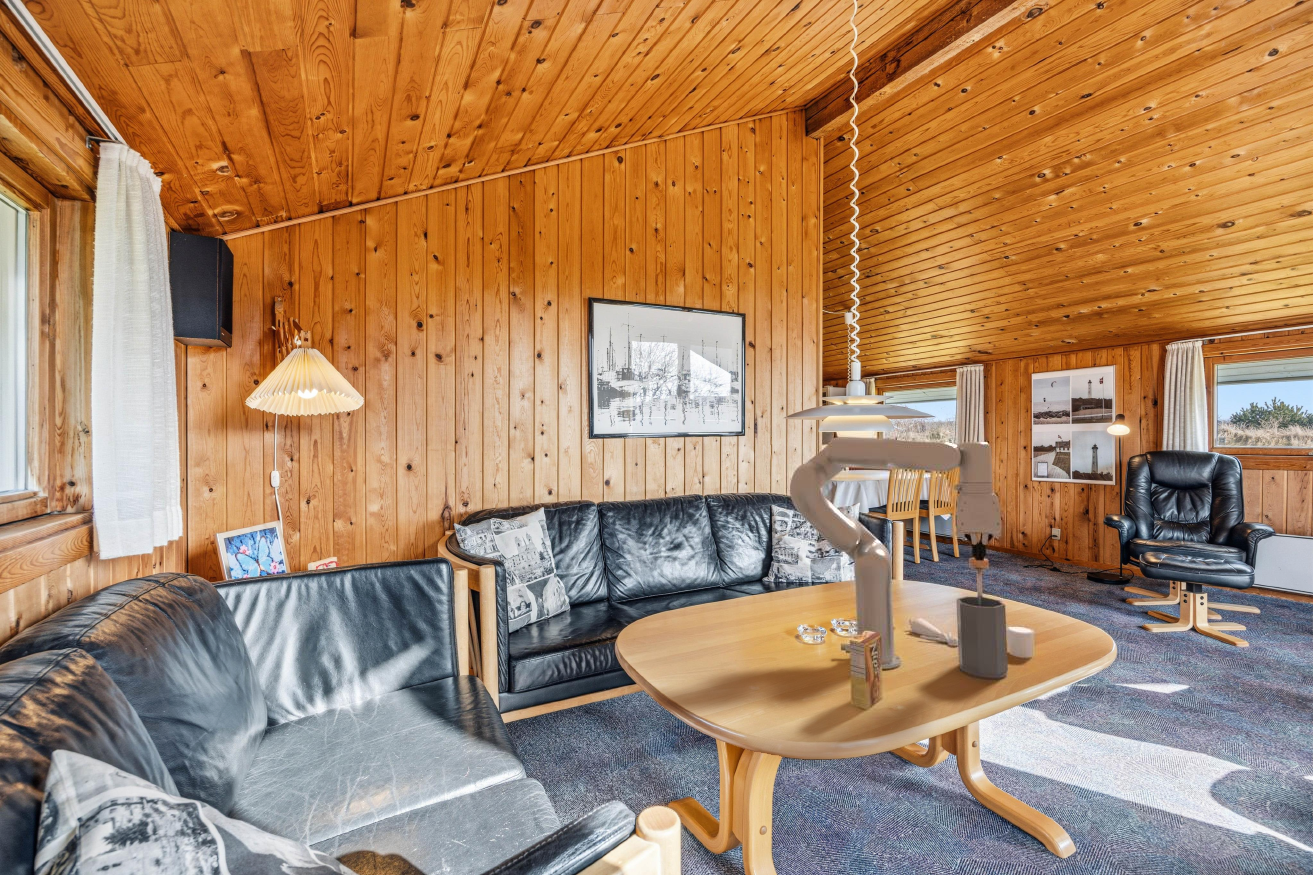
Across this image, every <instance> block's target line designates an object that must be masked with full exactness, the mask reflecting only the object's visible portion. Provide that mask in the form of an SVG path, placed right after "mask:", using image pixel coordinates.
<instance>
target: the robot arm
mask: <svg viewBox="0 0 1313 875" xmlns="http://www.w3.org/2000/svg"><path fill="white" fill-rule="evenodd" d="M992 465H993V464H992V448H991V445H990V444H989V443H988V442H986V441H968V442H967V441H966V442H962V443H957V442H956V443H955V442H945V441H940V442H938V441H936V442H935V441H913V440H910V441H909V440H901V439H895V438H886V437H885V438H883V437H880V438H879V437H877V438H876V437H854V436H853V437H852V436H851V437H849V436H840V437H839V436H838V437H834V438H832V439H831V440H830V441H829V442H828V443H827V445H826V446H825V447H824V448H823V449H822V450H820V451H819V452H818V453H816V454H815V455H814V456H813V457H812V458H810V459H809V460H808V461H807V462H805V463H804V464H801V465H799V466H798V467H797V468H796V469H795V470H794V472H793V474H792V477H791V480H790V485H789V494H790V495H789V496H790V499H791V502H792V504H793V506H794V507H795V509H796V511H797V512H798V513H799V514H800V515H801V516H802V517H803V519H804V520H806V522H808V523H809V524H810V526H811V527H812V528H813V529H815V531H816V532H818V533H819V534H820V536H821V537H822V538H823V539H825V541H826V542H827V543H828V544H829V545H830V546H831V547H832V548H833V549H834V550H836V551H838V552H843V553H845V555H847V557H849V558H850V559H851V560H853V562H854V564H853V566H854V567H853V571H854V574H853V575H854V585H855V588H854V589H855V605H856V606H855V608H856V609H855V610H856V636H857V635H859V634H861V633H862V632H864V631H871V632H876V633H880V634H881V647H882V670H888V669H894V668H897V667H899V666H900V665H901V664H902V659H901V657H900V655H898V654H896V653H895V638H894V637H895V636H894V635H895V634H894V630H895V629H894V611H893V610H894V607H893V606H894V605H893V568H892V566H893V564H892V559H891V553H890V552H889V549H888V548H887V547H886V546H885V545H884V544H883V543H882V542H881V540H879V539H878V538H877V537H876V536H875V535H874V534H873V533H872V532H871V531H870V530H868V528H866V526H864V525H863V524H862V523H861V522H860V521H859V520H857V518H855V517H853V516H851V515H849V514H848V515H847V514H843V513H842V511H840V510H839V509H838V508H837V507H836V506H835V505H834V504H833V503H832V502H831V501H830V500H829V499H828V498H826V497H825V495H824V494H823V493H822V490H821V488H823V487H824V486H825V485H826V484H827V483H829V482H830V481H831V480H832V479H834V478H835V477H836V476H837V475H839V474H840V473H841V472H842V471H843V470H845V469H846V468H854V469H855V468H858V469H875V470H889V471H891V470H892V471H894V470H895V471H896V470H906V471H907V470H908V471H927V472H928V471H929V472H949V471H952V470H955V469H958V470H959V471H958V472H959V474H958V475H959V476H958V477H959V482H958V483H957V484H954V485H953V489H954V491H958V492H959V493H958V494H957V496H956V502H955V513H954V514H955V520H954V521H955V524H954V525H955V532H954V535H955V536H956V537H960V538H964V539H966V540H967V541H968V542H969V543H971V556H972V557H973V558H975V559H976V560H984V558H985V557H986V556H987V546H986V545H987V544H988V543H989V542H990V541H991V540H992V539H996V538H999V537H1002V536H1003V535H1002V534H1003V533H1002V527H1003V526H1002V517H1001V510H1000V505H999V504H1000V503H999V499H998V496H997V494H995V493H993V491H994V490H993V467H992ZM976 534H980V535H979V540H978V539H977V535H976ZM840 651H845V653H846V654H850V643H842V642H841V643H840Z"/></svg>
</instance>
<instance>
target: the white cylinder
mask: <svg viewBox="0 0 1313 875" xmlns="http://www.w3.org/2000/svg"><path fill="white" fill-rule="evenodd" d="M1006 638H1007V648H1008V654H1009V655H1011V656H1013V657H1016V658H1021V659H1031V658H1033V657H1034V647H1035V646H1034V645H1035V630H1034V629H1032V628H1029V627H1026V626H1021V625H1009V626H1006Z"/></svg>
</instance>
